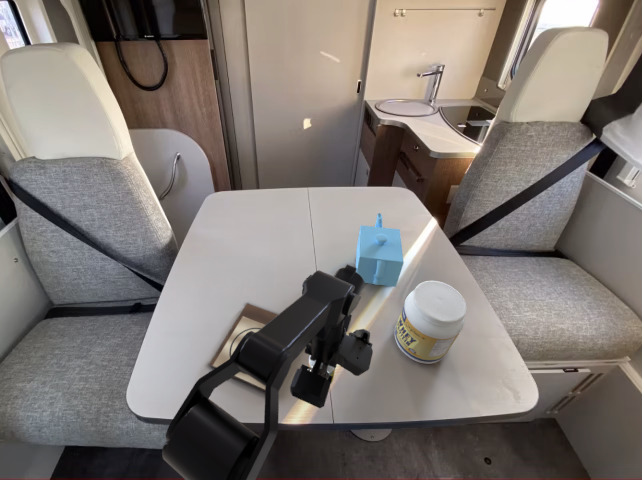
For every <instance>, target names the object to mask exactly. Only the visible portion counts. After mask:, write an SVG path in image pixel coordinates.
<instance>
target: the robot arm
mask: <svg viewBox="0 0 642 480" xmlns="http://www.w3.org/2000/svg"><path fill="white" fill-rule="evenodd" d="M356 271H357V268H356V266H352V265H350V264H346V265H345V267H341V268H339V269H337V270H336V272H335V274H334V275H331V274H329V273H327V272H324V271H322V270H320V269H319V270H316V271H315V272H313V273H312V274H310V275H308V277H306V278H305V280H304V281H302V285H301V286H302V287H301V288H302V290H301V294H302V295H301V296H300V297H298V298H297V299H296V300H294V301H293V302H292V303H291V304H290V305H288V306H287V307H286V308H285V309H283V310H282V311H281V312H280V313H278V314H277V316H276V317H275V318H274V319H272V320H271V321H270V322H269V323H267V324H266V325H265V326H264V327H262V328H261V329H260V330H259V331H257V332H256V333H255V332H253V331H250V332H248V333H247V334H246V335H245V336H244V337H243V338H242V339H241V341H240V342H239V344H238V346H237V347H236V349H235V350H234V352H233V354H232V355H231V357H230V359H229V360H227V361H226V362H224V363H223V364H221V365H220V366H218V367H217V368H213V369H212V370H210V371H209V372H208V373H205V374H204V375H203V376H201V377H200V378H199V379H198V380H197V381H196V382H195V383H194V384H193V386H192V388H191V390H190V391H189V393H188V394H187V396H186V397H185V399H184V400H183V402H182V404H181V405H180V407H179V409H178V410H177V412H176V413H175V415H174V416H173V419H172V420H171V421H170V424H169V425H168V427H167V430H166V432H165V441H166V442H164V443H163V445H162V451H161V455H162V459H163V460H164V461H165V462H166V463H167V465H168V466H170V467H171V468H172V469H173V470H174V471H175V472H176V473H177V474H179V475H180V476H181V477H182V478H183V480H256V479H257V477H258V475H259V473H260V471H261V469H262V467H263V466H264V463H265V461H266V458H267V456H268V454H269V452H270V450H271V448H272V447H273V445H274V442H275V440H276V438H277V436H278V432H279V411H280V410H279V408H280V407H279V405H280V403H279V402H280V397H279V396H280V390H281V388H282V385H283V384H284V381H285V380H286V378H287V376H288V374H289V372H290V369H291V367H292V364H293V362H294V361H295V360H296V359H297V358H298V357H299V356H300V355H301V353H302V352H303V351H304V353H305V354H306V355H309V356H310V355H311V356H310V360H312V361H315V360H316V362H315V364H314V366H313V365H312V368H311V367H309V365H306V364H303V363H301V366H300V367H299V368H296V371H295V374H294V376H293V378H292V381H291V382H290V386H289V392H290V394H291V396H292V397H294V398H296V399H298V400H300V401H302V402H305V403H307V404H310V405H311V406H313V407H317V408H318V409H322V408H324V407H325V405H326V401H327V398H328V396H329V392H330V388H331V384H332V383H331V381H332V378H333V376H330V375H329V372H328V371H327V368H328V365H329V366H332V367H334V368H335V369H336V368H337V365H338V366H339V367H342V368H343V369H345V370H346V371H348V372H349V373H351V374H352V375H353V376H356V377H359V376H362V375H363V374H365V373H366V372H368V371H369V370H370V367H371V362H372V358H373V353H374V351H373V343H372V342H370V339H371V332H370V331H368V330H367V329H366V328H360V329H355V330H354V331H353V332H352V331H350V332H349V328H350V324H351V321H352V313H353V312H354V311H355V310H356V308H357V306H358V304H359V303H360V301H361V299H362V296H360V295H361V293H362V292H363V290H364V288H365V286H366V283H364V280H363V278H362V277H361V276H360V275H359V274H358V273H357V272H356ZM347 333H348V334H347ZM322 363H323V364H322ZM321 364H322V368H321V369H320V367H321ZM240 371H243V372H245V373H246V374H248V375H249V376H251V377H252V378H254V379H255V380H257V381H258V382H260V383H261V384H263V385H264V386H266V387H265V391H264V416H263V417H264V419H263V431H262V433H261V434H260V436H259V435H258V434H257V433H256V432H254V431H253V430H251V429H250V428H249V427H248V426H246V425H245V424H244V423H242V422H241V421H240V420H238V419H237V418H236V417H234V416H233V415H231V413H229V412H228V411H226V410H225V409H223V408H222V407H221V406H219V405H218V404H217V403H216V402H214V401H213V400H211V398H210V397H211V396H212V394H213V392H214V390H215V389H216V388H218V387H219V386H221V385H222V384H224V383H225V382H227V381H228V380H230V379H231V378H234V377H233V376H234V375H236V374H237V373H239V372H240ZM333 379H334V378H333ZM332 382H333V381H332Z"/></svg>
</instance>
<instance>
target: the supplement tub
mask: <svg viewBox="0 0 642 480" xmlns="http://www.w3.org/2000/svg"><path fill="white" fill-rule="evenodd" d="M467 309H468V308H467V302H466V300H465V299H464V296H463V295H462V294H461V293H460V292H459V291H458V290H457V289H455V288H454V287H453V286H451V285H449V284H447V283H445V282H442V281H439V280H426V281H422V282H420V283H419V284H417V285H416V287H415V288H414V289H413V290H412V291H411V292H410V293H409V294H408V295H407V296H406V297H405V300H404V304H403V306H402V308H401V311H400V313H399V316H398V319H397V321H396V323H395V326H394V339H395V342H396V344H397V346H398V348H399V349H400V351H401V352H402V353H403V354H404V355H405V356H407V357H408V358H409V359H411V360H413V361H415V362H417V363H421V364H427V365H429V364H435V363H438V362H440V361H441V360H443V358H445V357H446V355H447V353H448V352H449V351H450V350H451V347H452V346H453V345H454V342H455V341H456V340H457V338H458V337H459V335H460V333H461V332H462V331H463V329H464V326H465V322H466V317H465V316H466V313H467Z"/></svg>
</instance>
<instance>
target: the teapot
mask: <svg viewBox="0 0 642 480" xmlns="http://www.w3.org/2000/svg"><path fill="white" fill-rule="evenodd" d="M400 230H401V229H400V228H391V227H383V215H382V213H380V212H379V213H377V215H376V221H375V224H374V226H372V225H363V224H360V226H359V232H358V237H357V243H356V252H355V253H356V254H355V268H357V271H356V272H357V273H358V274H359V275H360V276H361V277H362V278H363V280H364V283H365V284H372V285H374V286H375V285H376V286H377V285H379V286H386V287H394V288H397V284H398V281H399V278H400V275H401V272H402V269H403V266H404V263H405V262H404V256H403V255H404V254H403V246H402V245H403V244H402V237H401V231H400Z"/></svg>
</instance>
